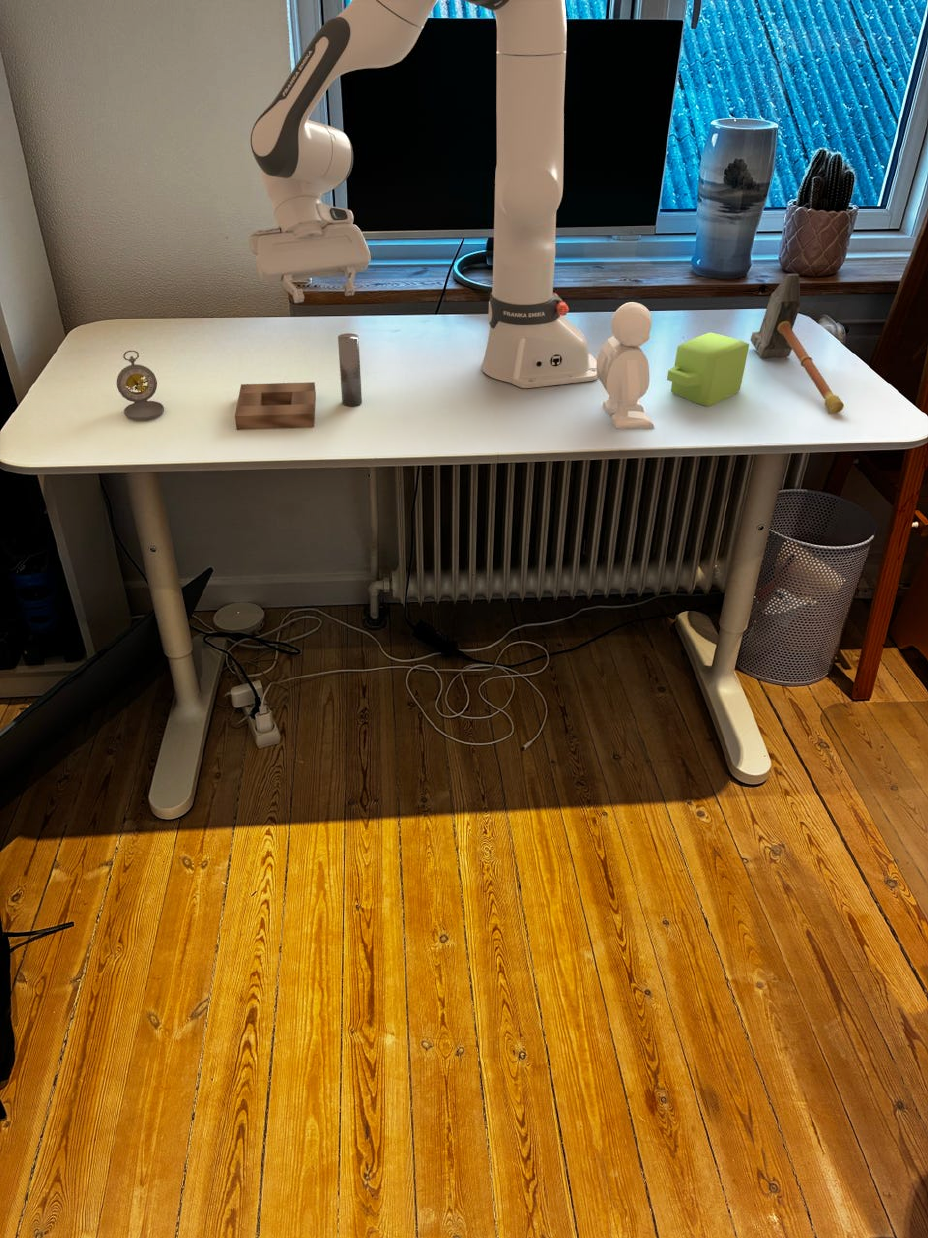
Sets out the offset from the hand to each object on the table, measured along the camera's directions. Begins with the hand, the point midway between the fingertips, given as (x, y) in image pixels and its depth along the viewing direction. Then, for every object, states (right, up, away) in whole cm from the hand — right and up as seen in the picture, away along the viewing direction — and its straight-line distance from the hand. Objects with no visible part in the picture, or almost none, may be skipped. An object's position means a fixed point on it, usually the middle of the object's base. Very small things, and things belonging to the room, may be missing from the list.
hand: (325, 297), depth 169 cm
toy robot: (+52, -22, -1) cm, 56 cm away
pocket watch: (-31, -21, -3) cm, 38 cm away
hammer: (+88, -11, +13) cm, 90 cm away
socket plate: (-8, -21, -2) cm, 22 cm away
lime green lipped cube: (+69, -15, +8) cm, 71 cm away
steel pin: (+5, -18, +1) cm, 19 cm away
